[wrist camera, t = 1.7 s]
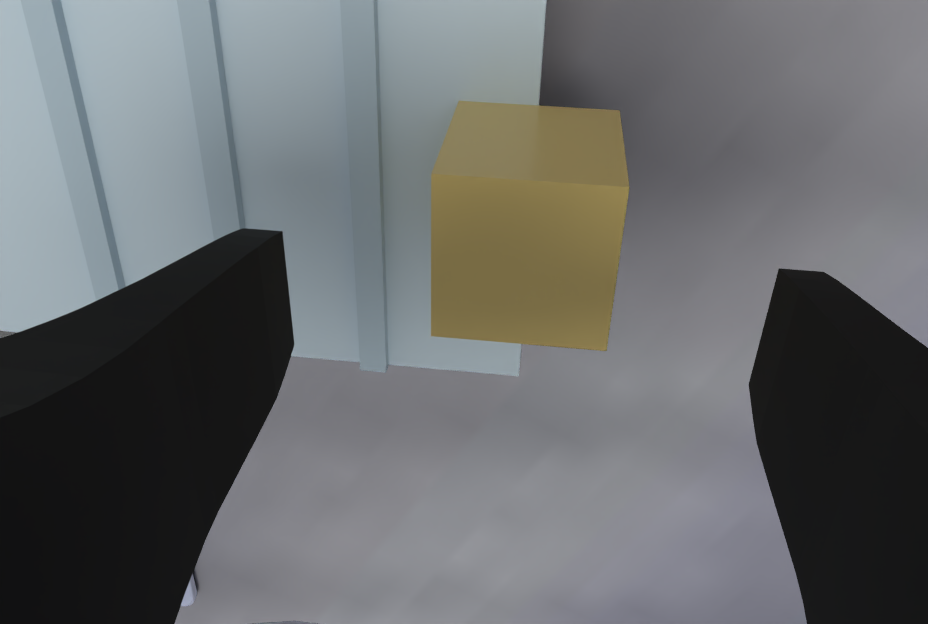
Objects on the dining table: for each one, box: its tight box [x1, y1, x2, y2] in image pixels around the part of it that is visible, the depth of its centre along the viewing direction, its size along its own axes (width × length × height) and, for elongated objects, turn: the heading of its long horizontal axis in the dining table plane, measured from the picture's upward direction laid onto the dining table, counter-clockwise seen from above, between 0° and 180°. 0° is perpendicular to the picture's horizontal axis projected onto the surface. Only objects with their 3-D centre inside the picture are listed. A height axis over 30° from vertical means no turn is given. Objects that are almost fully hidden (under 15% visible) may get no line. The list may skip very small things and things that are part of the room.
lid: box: [0, 0, 629, 376], centre depth 16 cm, size 10×14×4 cm
